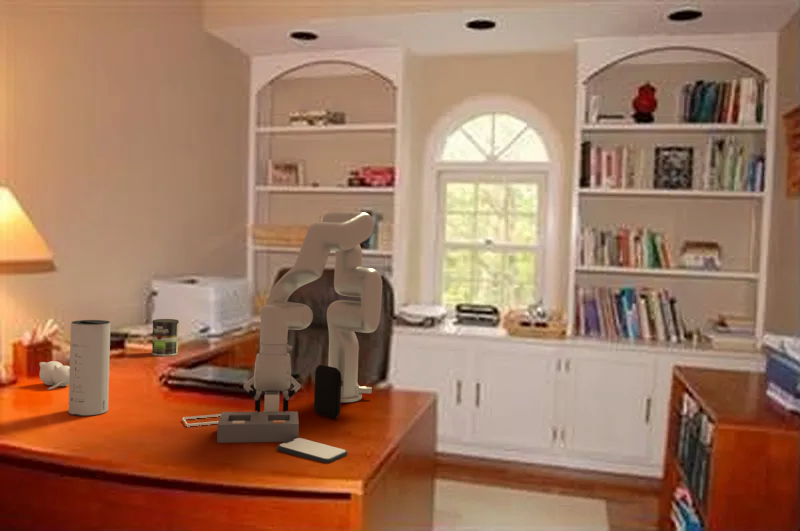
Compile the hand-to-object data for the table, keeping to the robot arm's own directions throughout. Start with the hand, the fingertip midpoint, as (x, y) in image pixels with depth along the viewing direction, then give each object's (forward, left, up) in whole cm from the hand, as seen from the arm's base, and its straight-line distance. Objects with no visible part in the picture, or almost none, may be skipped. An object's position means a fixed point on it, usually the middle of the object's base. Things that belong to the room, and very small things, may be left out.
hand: (271, 412), depth 190 cm
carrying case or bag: (-16, -4, -3) cm, 17 cm away
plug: (0, 0, -3) cm, 3 cm away
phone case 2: (-10, +27, -3) cm, 29 cm away
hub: (+3, +12, -2) cm, 13 cm away
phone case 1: (+16, -1, -3) cm, 16 cm away
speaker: (+51, -12, -3) cm, 52 cm away
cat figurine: (+70, -44, -3) cm, 83 cm away
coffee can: (+45, -103, -3) cm, 112 cm away
